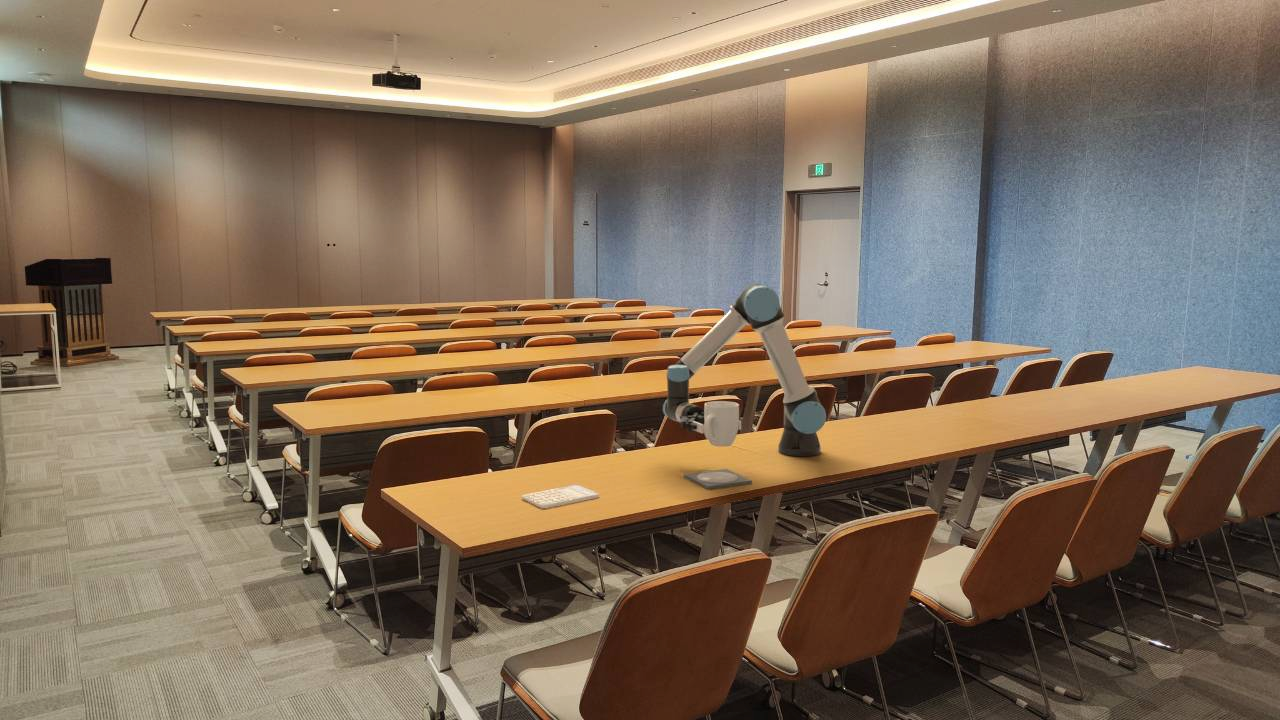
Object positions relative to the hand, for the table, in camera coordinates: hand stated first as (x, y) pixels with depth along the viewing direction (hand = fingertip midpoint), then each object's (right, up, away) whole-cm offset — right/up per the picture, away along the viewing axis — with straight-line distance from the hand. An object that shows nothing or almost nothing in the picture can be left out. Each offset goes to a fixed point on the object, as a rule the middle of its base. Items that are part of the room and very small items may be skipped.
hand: (721, 427), depth 272 cm
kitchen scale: (-1, -17, +5) cm, 18 cm away
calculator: (-50, -21, -13) cm, 55 cm away
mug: (-1, -6, +2) cm, 6 cm away
